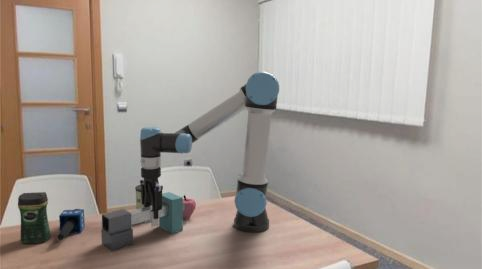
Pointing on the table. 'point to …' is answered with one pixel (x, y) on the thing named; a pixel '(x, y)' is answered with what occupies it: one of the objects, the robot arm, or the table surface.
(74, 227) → the microphone
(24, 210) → the coffee jar
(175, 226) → the socket block
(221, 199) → the table surface
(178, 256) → the table surface
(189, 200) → the apple
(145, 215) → the slip tube
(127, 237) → the stand
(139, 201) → the coffee can
